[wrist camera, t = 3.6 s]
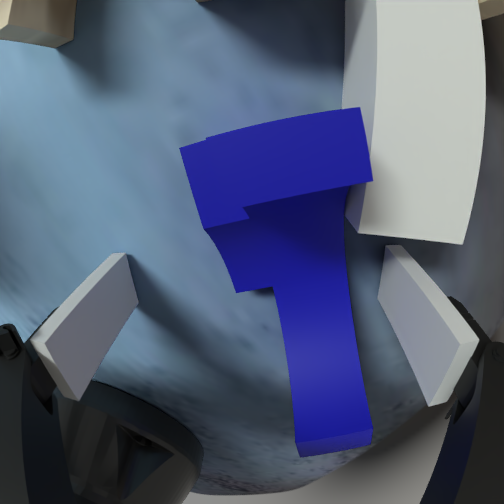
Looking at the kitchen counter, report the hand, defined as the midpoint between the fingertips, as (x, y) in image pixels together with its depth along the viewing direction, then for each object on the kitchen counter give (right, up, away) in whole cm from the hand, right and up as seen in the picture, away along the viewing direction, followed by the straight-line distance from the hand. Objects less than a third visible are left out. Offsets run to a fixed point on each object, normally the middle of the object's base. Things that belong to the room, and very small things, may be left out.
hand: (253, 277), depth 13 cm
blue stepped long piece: (+2, +1, 0) cm, 2 cm away
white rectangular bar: (+5, +9, -4) cm, 11 cm away
